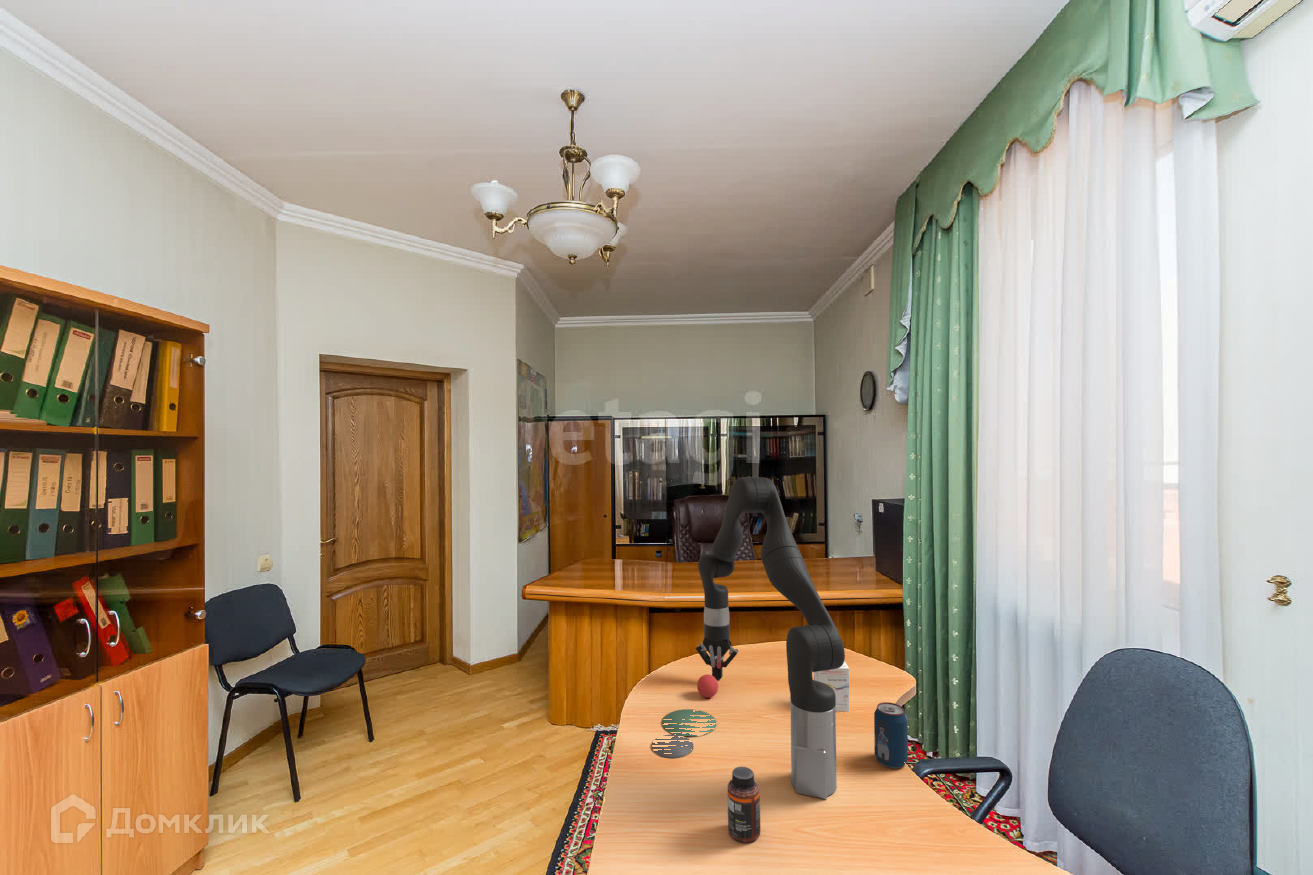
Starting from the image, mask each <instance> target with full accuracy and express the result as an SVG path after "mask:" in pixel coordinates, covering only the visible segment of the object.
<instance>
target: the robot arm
mask: <svg viewBox="0 0 1313 875" xmlns="http://www.w3.org/2000/svg"><path fill="white" fill-rule="evenodd" d="M724 510H725V511H724V514H723V518H722V519H723V520H722V523H721V526H720V529H719V531H718V533H717V535H716V537H715V539H714V541H713V544H712V548H711V551H712V553H709V554H708V553H706V554H703V555H702V556H700V558H699V560H698V563H697V568H698V573H699V576H700V579H701V583H702V588H703V592H704V608H703V609H704V610H703V640H702V643H701V644H698V645H697V646H696V648H695V650H696V652H697V653H698V654H699V657H701V659H702V660H703V662H704V663H705V665H706V666H710V667H711V675H712V676H713V677H715V678H716V680H717V682H719V681H721V679H722V678H723V668H727V667H728V666H729V664H731V662H733V660H734V658H735V657H736V656H737V654H738V653H739V650H738V649H737V648H734V647H733V646H732V641H731V640H730V634H731V632H730V626H731V625H730V621H731V620H730V619H731V618H730V610H729V609H730V608H729V589H728V587H727V586H726V585H723V584H718V583H717V584H716V583H715V582H714V579H717V578H718V579H719V578H726V577H729V576H731V575H732V574H733V572H734V571H735V561H736V556H737V554H738V551H739V549H740V547H741V545H742V543H743V540H744V530H743V528H742V525H741V522H740V519H739V518H740V517H741V515H742V514H743V513H747V514H748V513H754V514H755V513H759V514H760V513H761V514H762V516H763V517H764V518H765V521H766V525H767V528H766V529H767V530H766V533H765V536H764V539H763V542H762V546H761V549H760V559H761V561H762V562H761V563H762V564H763V568H764V570H765V573H766V576H767V577H768V580H769V582H770V584H771V585H772V586H773V588H774V589H776V590H777V592H779V594H781V595H782V596H783V597H784V598H785V599H787V600H788V601H789V602H790V603H791V604H792V605H794V606H795V607H796V609H798V610H799V612H800V613H801V615H802V616H803V617H804V618H805V620H806V622H807V625H798V626H793V627H791V628H789V630H788V632H787V635H786V643H785V644H786V645H785V647H786V648H785V649H786V662H787V663H786V664H787V683H788V688H789V689H788V690H789V694H790V698H789V699H790V770H791V771H790V774H791V775H790V776H791V777H790V778H791V779H790V780H791V784H792V786H793V787H794V789H795V793H797V794H800V795H806V796H809V797H813V798H818V799H823V800H827V798H828V796H830V795H832V794H834V793H835V792H836V791H837V787H838V786H837V784H838V783H837V780H838V779H837V776H838V775H837V730H836V729H837V723H836V722H837V711H836V696H835V692H834V690H833V689H832V688H831V687H830V686H828V685H827V684H825V683H822V682H819V681H816V680H814V677H813V673H814V672H818V671H825V670H833V669H837V668H840V667H841V666H842V665H843V663H844V660H845V659H846V652H845V647H844V643H843V639H842V637H841V635H840V633H839V631H838V628H837V627H836V624H835V622H834V621H833V619H832V617H831V615H830V614H829V612H828V609H827V608H826V606H825V605H824V604H825V603H824V602H823V601H822V599H821V597H820V595H819V593H818V591H817V589H816V587H815V583H814V582H813V580H812V577H811V575H810V573H809V571H808V568H807V565H806V563H805V560H804V558H803V555H802V553H801V550H800V549H799V546H798V544H797V542H796V540H795V538H794V535H793V532H792V531H791V529H790V528H791V527H790V526H789V523H788V520H787V518H786V514H785V511H784V509H783V505H782V502H781V499H780V495H779V492H778V490H777V487H776V485H775V484H774V482H773V480H772V479H770V478H767V477H761V476H760V477H759V476H757V477H755V476H743V477H742V476H741V477H738V478H736V479H735V481H734V482H733V484H732V486H731V488H730V491H729V495H728V498H727V503H726V506H725V509H724ZM727 652H728V655H729V656H728V657H727V658H726V660H724V659H725V655H726V654H727ZM845 661H846V660H845Z"/></svg>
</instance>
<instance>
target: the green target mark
mask: <svg viewBox="0 0 1313 875" xmlns="http://www.w3.org/2000/svg"><path fill="white" fill-rule="evenodd" d="M693 710H695V709H692V708H690V709H689V708H685V709H678V710H674V711H670V712H669V713H667V714H665V716H663V717H662V719H672V720H661V725H662V724H664V723H677V724H668V725H663V726H662V728H663V727H664V728H674V729H666V730H667V731H666V730H665V731H666V732H668V733H669V732H681V733H673V734H672V735H674V734H676V735H680V736H697V735H692V734H691V735H690V734H689V733H686V734H682V732H695V731H691V730H692V729H691V730H685V729H679V728H686V729H687V728H700V727H695V726H690V725H685V724H683V725H679V724H681V723H696V722H697V721H691V720H689V719H710V720H711V719H715V720H711V721H709V720H708V721H707V722H697V723H717V720H716V718H715V717H714V716H713V715H712V714H710V713H708V712H707V711H703V710H699V709H698V710H699V711H695V712H693ZM690 715H710V716H706V717H700V716H694V717H693V716H690ZM682 719H685V720H682ZM710 725H712V724H710ZM715 727H716V728H717V725H716V724H715V725H713V726H709V725H708V726H706V727H702V728H715ZM664 728H663V729H664ZM716 728H715V729H716ZM711 731H712V732H713V731H714V730H713V729H710V730H707V731H699V732H710V733H712V732H711ZM706 735H707V733H706Z"/></svg>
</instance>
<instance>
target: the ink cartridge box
mask: <svg viewBox="0 0 1313 875" xmlns="http://www.w3.org/2000/svg"><path fill="white" fill-rule="evenodd" d="M813 680H816V681H819V682H822V683H825V684H827V685H828V686H830V687H831V688H832V689H833V690H834V692H835V696H836V712H850V667H849V666H848V664H847V662H846V660H844V663H843V665H842V666H841V667H840V668H837V669H833V670H825V671H818V672H813Z"/></svg>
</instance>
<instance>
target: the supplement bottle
mask: <svg viewBox="0 0 1313 875" xmlns="http://www.w3.org/2000/svg"><path fill="white" fill-rule="evenodd" d="M731 774H732V776H731V779H730V780H729V781H728V784H727V789H726V790H727V821H728V822H727V828H728V832H729V836H730V837H731V838H732V839H734V840H735V841H737V842H740V843H752V842H754V841H756V840H757V839H758V838H759V837H760V836H761V801H760V799H761V797H760V796H761V795H760V793H761V792H760V787H759V784H758V783H757V781H756V780H755V774H754V771H753V770H752V769H751V768H750V767H747V766H737V767H735V768H734V769H733V770H732V772H731Z"/></svg>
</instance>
